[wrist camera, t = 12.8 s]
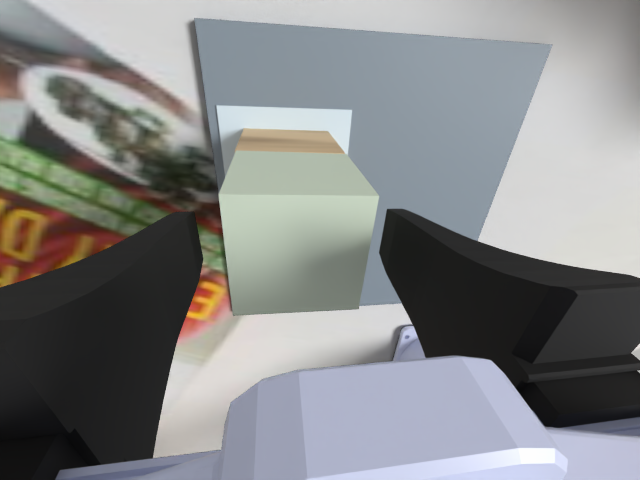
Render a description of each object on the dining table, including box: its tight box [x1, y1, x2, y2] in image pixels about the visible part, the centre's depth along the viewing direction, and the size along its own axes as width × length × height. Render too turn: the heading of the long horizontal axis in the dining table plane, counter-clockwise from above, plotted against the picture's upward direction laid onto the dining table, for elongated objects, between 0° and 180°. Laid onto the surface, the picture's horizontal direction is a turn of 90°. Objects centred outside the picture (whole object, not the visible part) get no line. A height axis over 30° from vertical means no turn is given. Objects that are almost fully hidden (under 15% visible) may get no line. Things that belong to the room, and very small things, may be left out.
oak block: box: [235, 128, 345, 154], centre depth 15 cm, size 4×4×4 cm
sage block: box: [219, 150, 379, 316], centre depth 11 cm, size 4×4×4 cm
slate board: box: [194, 18, 552, 306], centre depth 19 cm, size 18×18×1 cm
